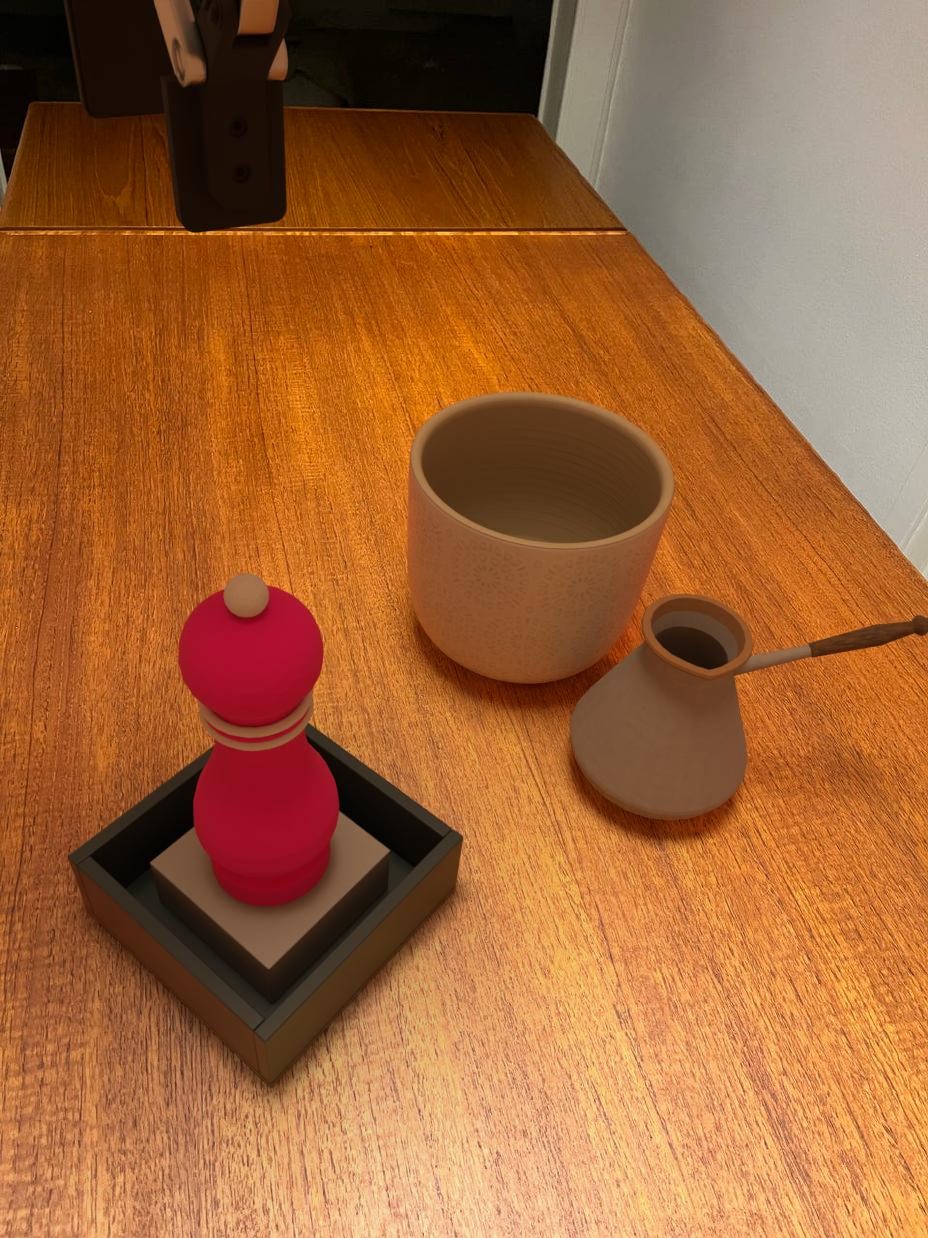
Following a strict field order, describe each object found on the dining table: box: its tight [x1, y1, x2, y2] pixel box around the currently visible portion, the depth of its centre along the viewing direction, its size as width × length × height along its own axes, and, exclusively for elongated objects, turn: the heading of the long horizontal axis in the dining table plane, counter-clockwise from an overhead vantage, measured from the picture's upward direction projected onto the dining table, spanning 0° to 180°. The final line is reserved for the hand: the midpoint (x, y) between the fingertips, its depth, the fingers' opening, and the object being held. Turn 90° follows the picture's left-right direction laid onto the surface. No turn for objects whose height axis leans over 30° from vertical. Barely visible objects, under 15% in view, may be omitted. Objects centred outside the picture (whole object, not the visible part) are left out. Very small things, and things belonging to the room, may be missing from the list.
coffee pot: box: [569, 592, 928, 822], centre depth 60 cm, size 21×12×15 cm, turn 92°
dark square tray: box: [67, 722, 464, 1089], centre depth 53 cm, size 15×15×6 cm
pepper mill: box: [178, 572, 339, 907], centre depth 45 cm, size 7×7×20 cm
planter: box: [406, 391, 676, 684], centre depth 67 cm, size 17×17×15 cm
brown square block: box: [150, 811, 390, 1004], centre depth 53 cm, size 9×9×4 cm
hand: (177, 163), depth 32 cm, fingers open, 9 cm apart
